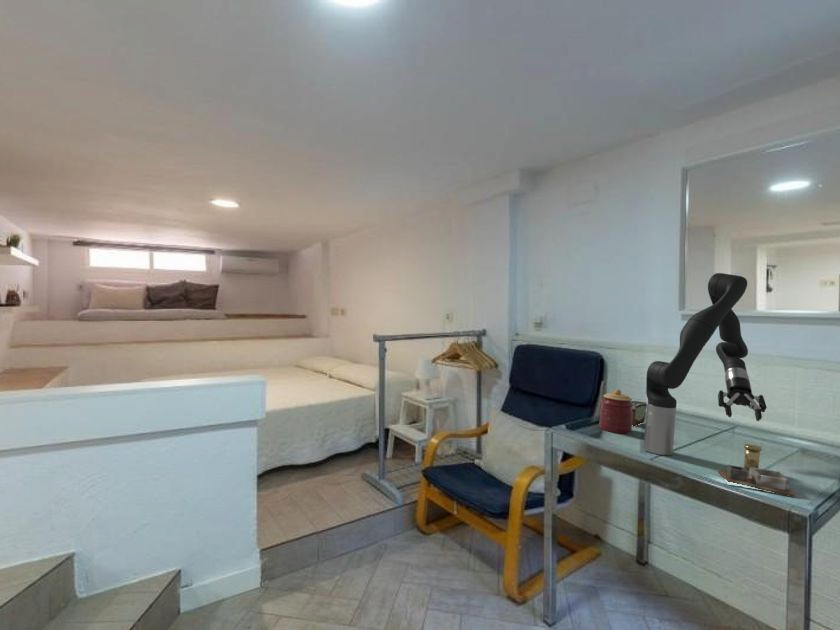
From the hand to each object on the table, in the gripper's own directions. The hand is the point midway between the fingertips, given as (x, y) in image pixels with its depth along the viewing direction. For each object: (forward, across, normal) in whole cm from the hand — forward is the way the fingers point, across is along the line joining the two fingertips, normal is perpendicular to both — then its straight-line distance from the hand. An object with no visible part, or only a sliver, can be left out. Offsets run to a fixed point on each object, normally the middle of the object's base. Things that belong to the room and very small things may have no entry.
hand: (744, 417), depth 157 cm
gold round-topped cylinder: (+19, 0, +2) cm, 19 cm away
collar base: (+30, -4, -9) cm, 32 cm away
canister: (0, -42, +22) cm, 47 cm away
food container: (-12, -34, +34) cm, 49 cm away
